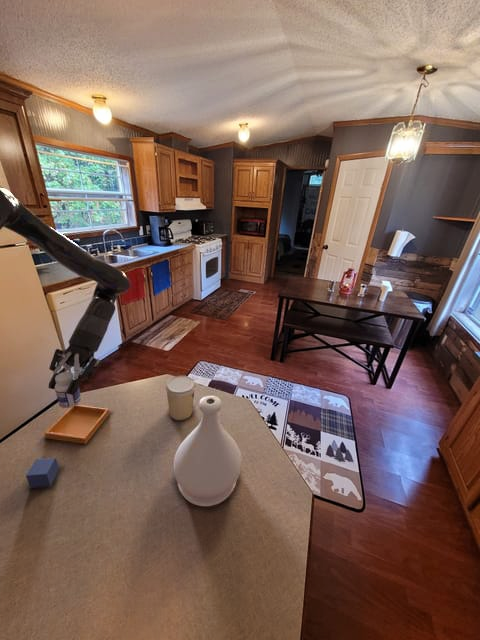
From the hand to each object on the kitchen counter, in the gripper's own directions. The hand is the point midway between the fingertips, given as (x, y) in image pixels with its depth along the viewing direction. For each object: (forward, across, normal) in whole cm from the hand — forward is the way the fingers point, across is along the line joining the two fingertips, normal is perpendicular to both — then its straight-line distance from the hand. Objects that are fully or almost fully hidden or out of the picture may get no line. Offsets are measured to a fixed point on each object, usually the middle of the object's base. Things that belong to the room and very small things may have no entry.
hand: (61, 391), depth 67 cm
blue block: (+21, +3, +5) cm, 21 cm away
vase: (+11, +41, +15) cm, 45 cm away
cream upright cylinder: (-2, +24, +28) cm, 36 cm away
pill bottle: (+3, 0, +5) cm, 6 cm away
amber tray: (+9, -3, +16) cm, 19 cm away
